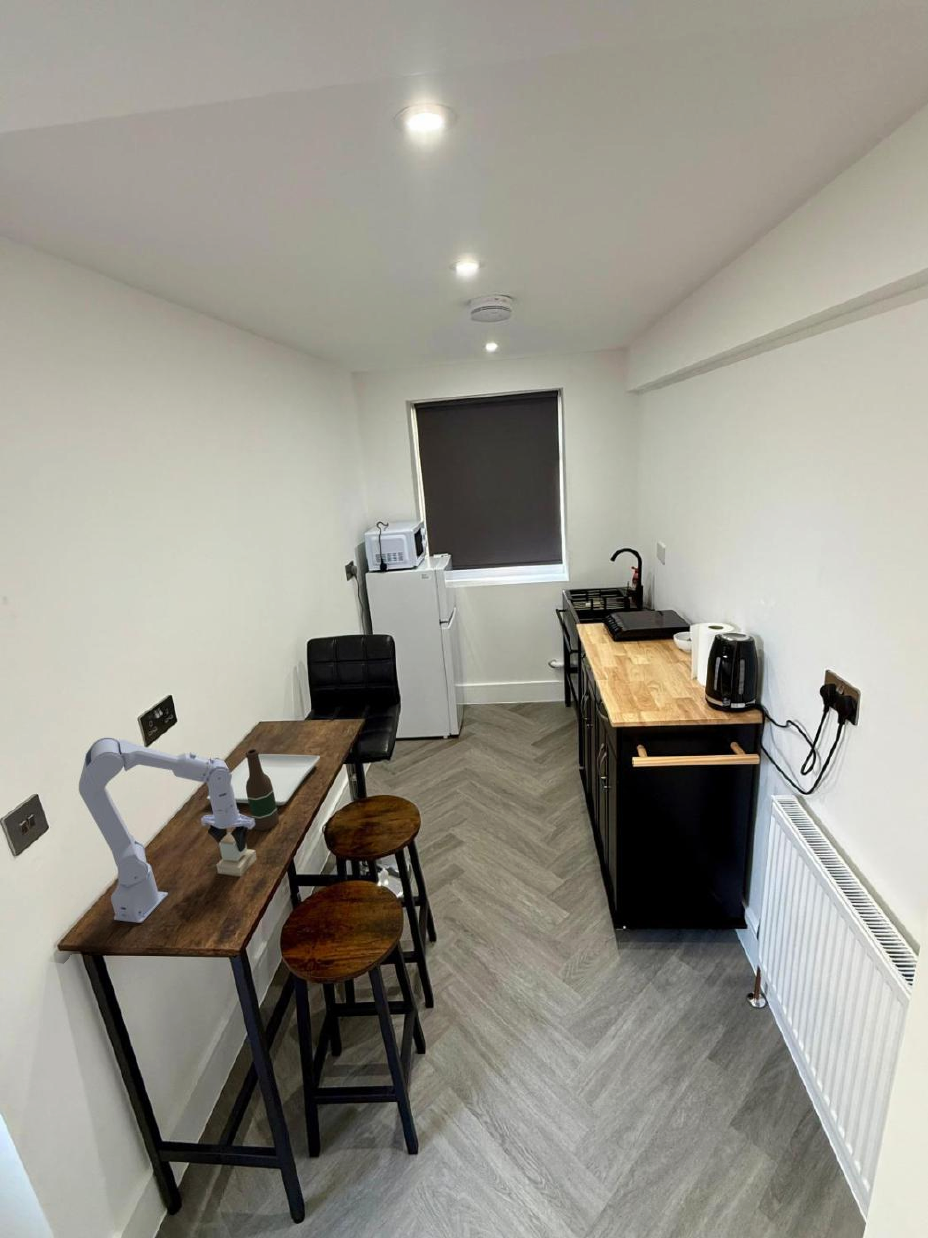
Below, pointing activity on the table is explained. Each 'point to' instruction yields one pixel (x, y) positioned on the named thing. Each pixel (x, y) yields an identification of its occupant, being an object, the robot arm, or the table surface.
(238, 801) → the square plate
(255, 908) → the table surface
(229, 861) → the base block
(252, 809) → the beer bottle
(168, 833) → the table surface
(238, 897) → the table surface
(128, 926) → the table surface
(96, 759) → the robot arm
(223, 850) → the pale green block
